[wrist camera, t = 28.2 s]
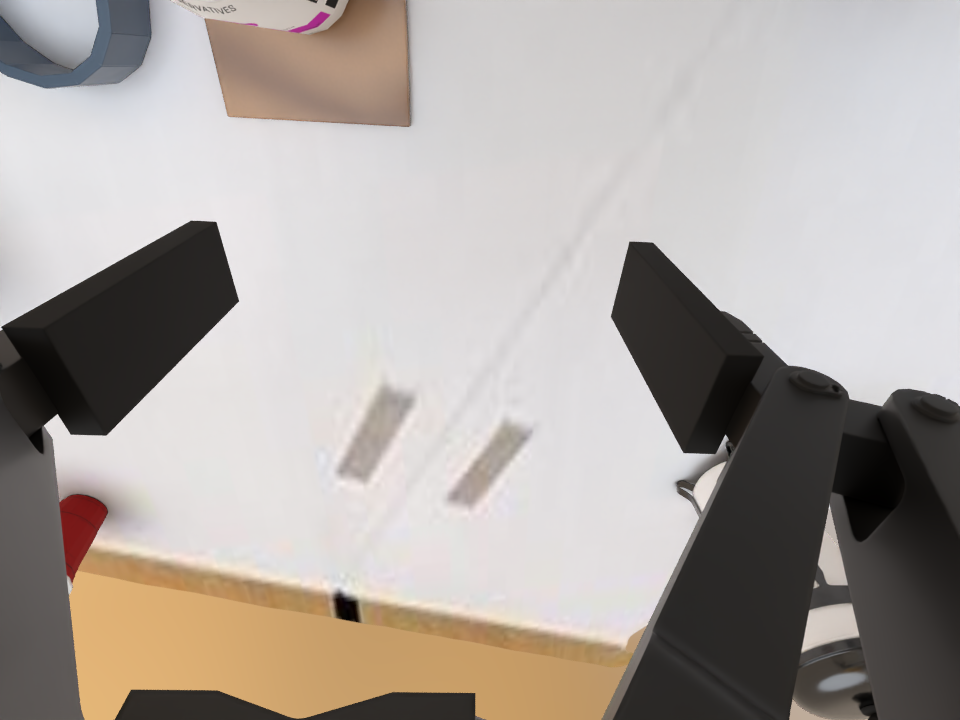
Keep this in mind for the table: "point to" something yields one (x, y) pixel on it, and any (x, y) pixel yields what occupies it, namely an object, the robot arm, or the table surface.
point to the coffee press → (819, 631)
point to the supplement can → (271, 13)
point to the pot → (110, 58)
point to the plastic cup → (79, 529)
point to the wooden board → (319, 68)
